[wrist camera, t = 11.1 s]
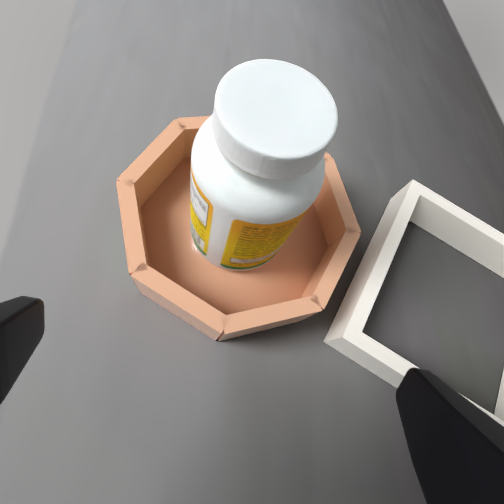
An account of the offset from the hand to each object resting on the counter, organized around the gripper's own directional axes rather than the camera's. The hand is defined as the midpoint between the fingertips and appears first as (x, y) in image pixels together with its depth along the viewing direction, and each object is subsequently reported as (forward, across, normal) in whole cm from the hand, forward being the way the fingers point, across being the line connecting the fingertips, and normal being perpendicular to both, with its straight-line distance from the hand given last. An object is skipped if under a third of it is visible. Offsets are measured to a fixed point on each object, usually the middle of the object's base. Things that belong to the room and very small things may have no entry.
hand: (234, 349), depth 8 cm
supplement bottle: (+12, 0, +1) cm, 12 cm away
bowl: (+12, 0, +2) cm, 13 cm away
